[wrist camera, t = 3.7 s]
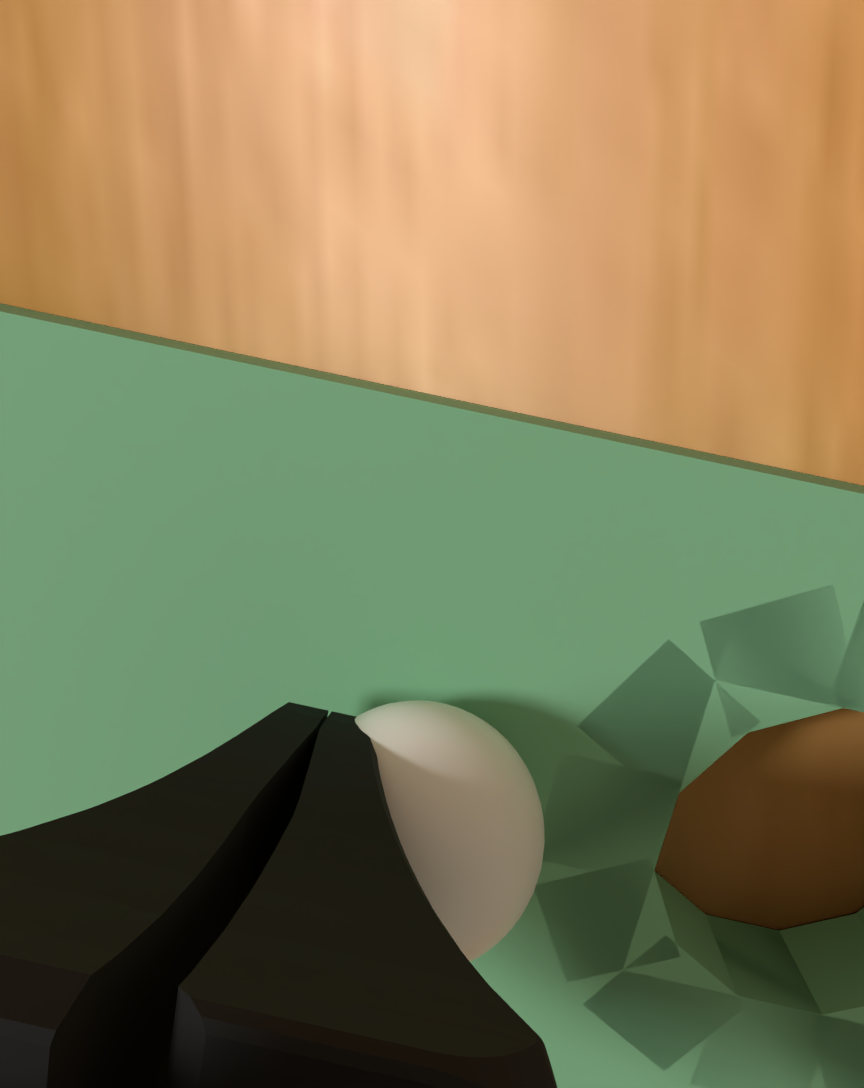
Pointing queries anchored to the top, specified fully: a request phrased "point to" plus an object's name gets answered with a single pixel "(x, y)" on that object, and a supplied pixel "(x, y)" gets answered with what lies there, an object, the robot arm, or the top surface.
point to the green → (440, 650)
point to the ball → (460, 815)
